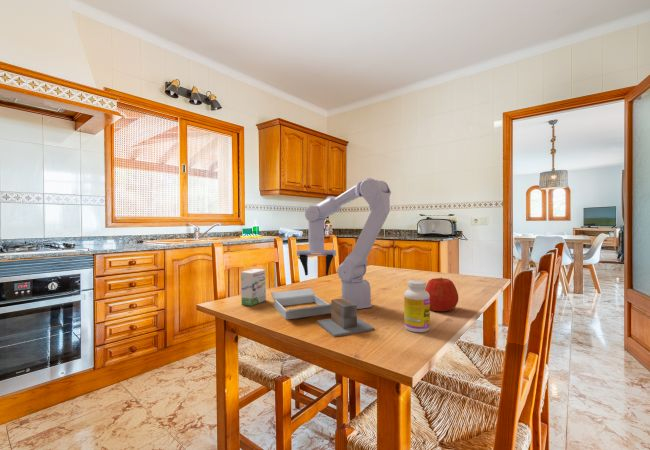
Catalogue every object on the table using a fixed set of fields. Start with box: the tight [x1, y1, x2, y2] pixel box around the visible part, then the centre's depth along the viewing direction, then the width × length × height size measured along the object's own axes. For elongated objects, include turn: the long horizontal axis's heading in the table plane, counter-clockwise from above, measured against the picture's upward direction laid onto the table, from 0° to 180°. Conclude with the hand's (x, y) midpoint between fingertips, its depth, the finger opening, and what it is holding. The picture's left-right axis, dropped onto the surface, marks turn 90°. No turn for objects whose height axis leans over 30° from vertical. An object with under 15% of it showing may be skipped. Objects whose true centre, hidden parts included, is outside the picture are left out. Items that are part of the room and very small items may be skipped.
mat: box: [316, 317, 375, 338], centre depth 85 cm, size 12×12×1 cm
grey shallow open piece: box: [270, 288, 332, 321], centre depth 101 cm, size 15×23×4 cm, turn 23°
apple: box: [425, 277, 459, 312], centre depth 100 cm, size 11×11×11 cm
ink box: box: [240, 268, 267, 307], centre depth 111 cm, size 8×5×12 cm, turn 154°
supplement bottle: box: [403, 279, 431, 333], centre depth 82 cm, size 7×7×13 cm
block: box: [330, 297, 358, 329], centre depth 85 cm, size 4×8×6 cm, turn 23°
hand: (316, 275), depth 113 cm, fingers open, 7 cm apart
